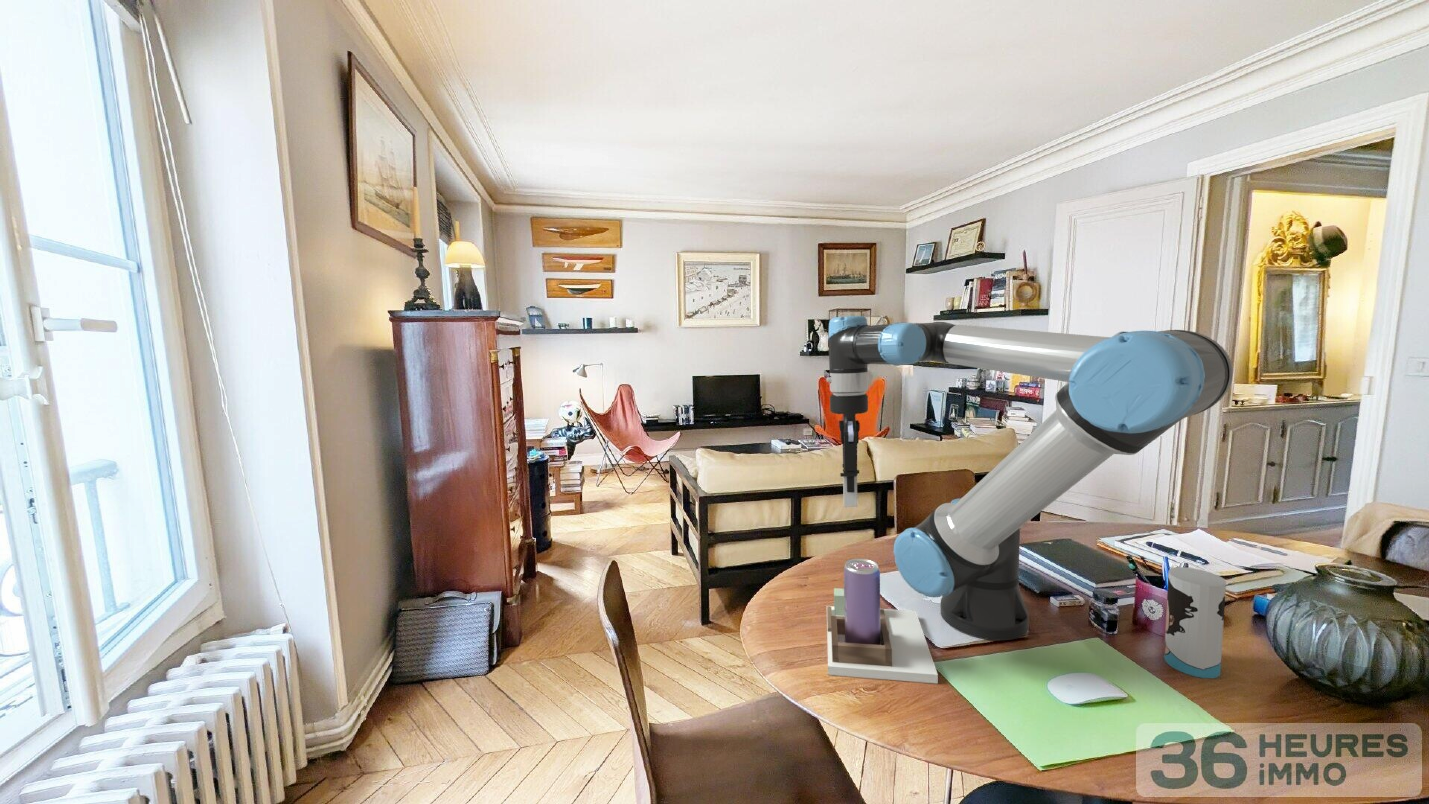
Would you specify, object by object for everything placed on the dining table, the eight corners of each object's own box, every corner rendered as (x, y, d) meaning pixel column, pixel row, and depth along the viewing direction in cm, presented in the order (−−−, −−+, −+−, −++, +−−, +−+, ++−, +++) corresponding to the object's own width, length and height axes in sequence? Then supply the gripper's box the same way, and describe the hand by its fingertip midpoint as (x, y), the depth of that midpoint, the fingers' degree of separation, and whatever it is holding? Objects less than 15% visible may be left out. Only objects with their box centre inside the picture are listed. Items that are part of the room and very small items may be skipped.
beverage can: (882, 659, 87) (881, 573, 85) (845, 656, 88) (844, 572, 87) (878, 639, 93) (877, 558, 91) (844, 636, 94) (842, 557, 92)
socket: (885, 634, 94) (884, 618, 94) (892, 666, 85) (891, 649, 85) (831, 631, 96) (830, 615, 96) (832, 662, 87) (832, 645, 87)
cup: (1215, 660, 85) (1221, 572, 83) (1224, 683, 80) (1230, 590, 78) (1161, 648, 89) (1165, 564, 87) (1166, 669, 83) (1171, 580, 82)
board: (915, 617, 102) (915, 607, 102) (937, 683, 83) (937, 670, 82) (826, 612, 106) (826, 602, 105) (828, 674, 86) (827, 662, 86)
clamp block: (875, 609, 103) (875, 590, 103) (877, 617, 100) (877, 597, 100) (834, 607, 105) (833, 588, 104) (834, 615, 102) (834, 595, 101)
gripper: (829, 390, 113) (831, 496, 116) (830, 397, 100) (832, 515, 103) (865, 389, 112) (866, 496, 114) (870, 396, 99) (872, 516, 102)
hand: (850, 505), depth 109 cm, fingers closed
